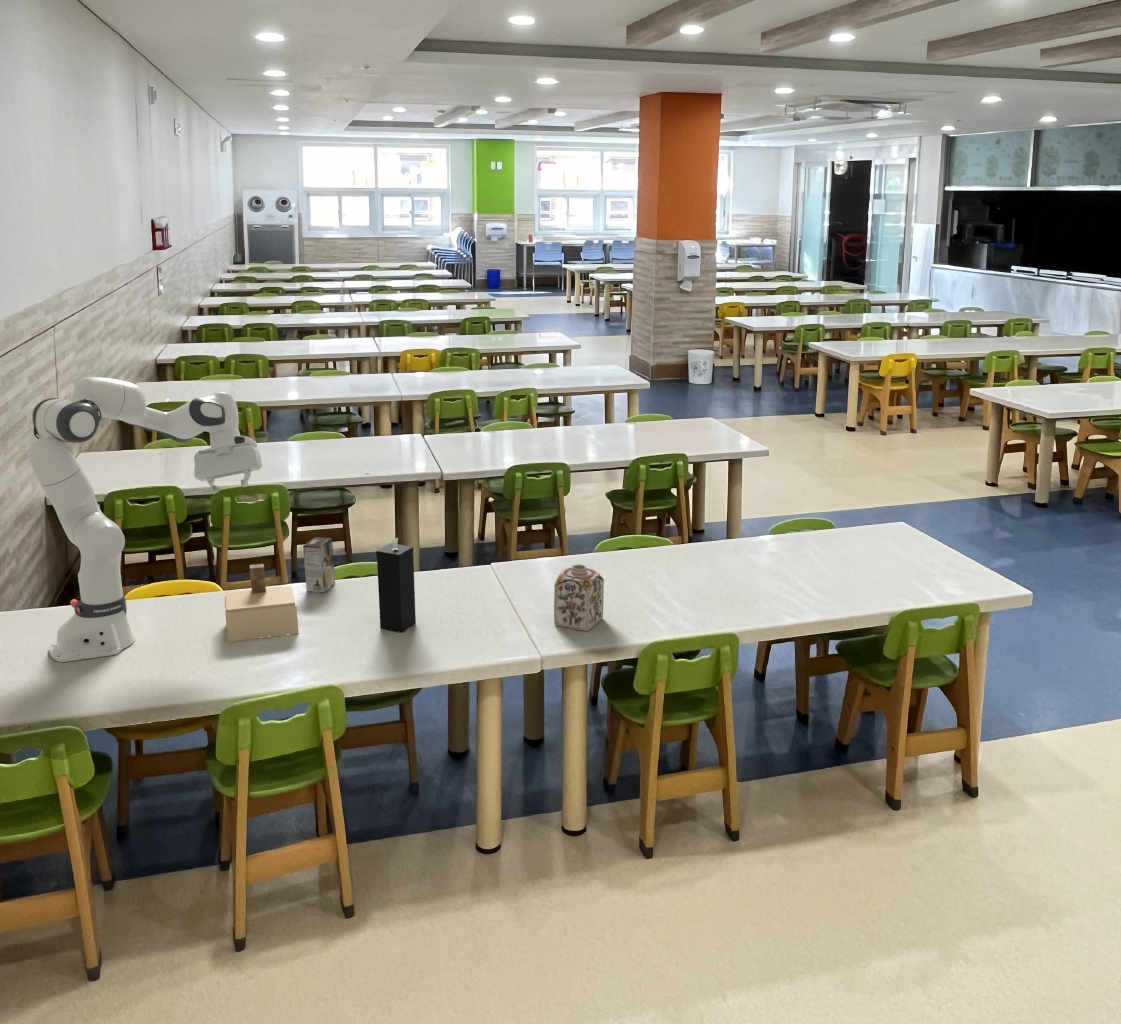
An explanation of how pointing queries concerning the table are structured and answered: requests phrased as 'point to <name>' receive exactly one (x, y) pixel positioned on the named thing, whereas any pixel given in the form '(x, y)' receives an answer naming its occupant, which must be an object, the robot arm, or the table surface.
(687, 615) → the table surface
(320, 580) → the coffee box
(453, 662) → the table surface
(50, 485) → the robot arm
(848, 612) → the table surface
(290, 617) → the carton
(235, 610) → the lid flap
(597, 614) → the decorative jar
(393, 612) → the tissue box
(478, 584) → the table surface
